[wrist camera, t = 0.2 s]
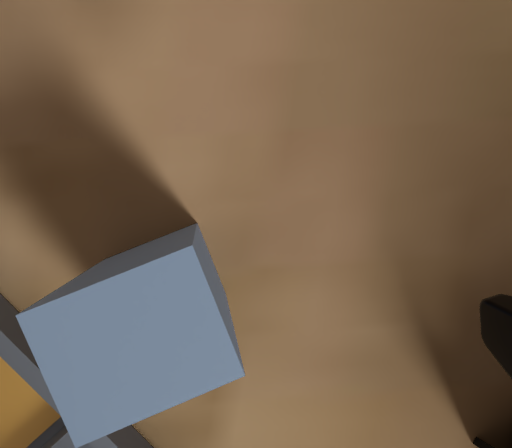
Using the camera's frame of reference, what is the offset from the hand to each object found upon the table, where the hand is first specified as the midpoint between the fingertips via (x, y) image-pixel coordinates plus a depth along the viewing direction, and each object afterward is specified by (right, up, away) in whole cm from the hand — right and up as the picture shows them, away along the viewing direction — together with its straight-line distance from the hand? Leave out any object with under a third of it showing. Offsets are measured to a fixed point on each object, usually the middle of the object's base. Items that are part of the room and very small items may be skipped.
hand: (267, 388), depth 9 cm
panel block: (-5, 0, +15) cm, 16 cm away
